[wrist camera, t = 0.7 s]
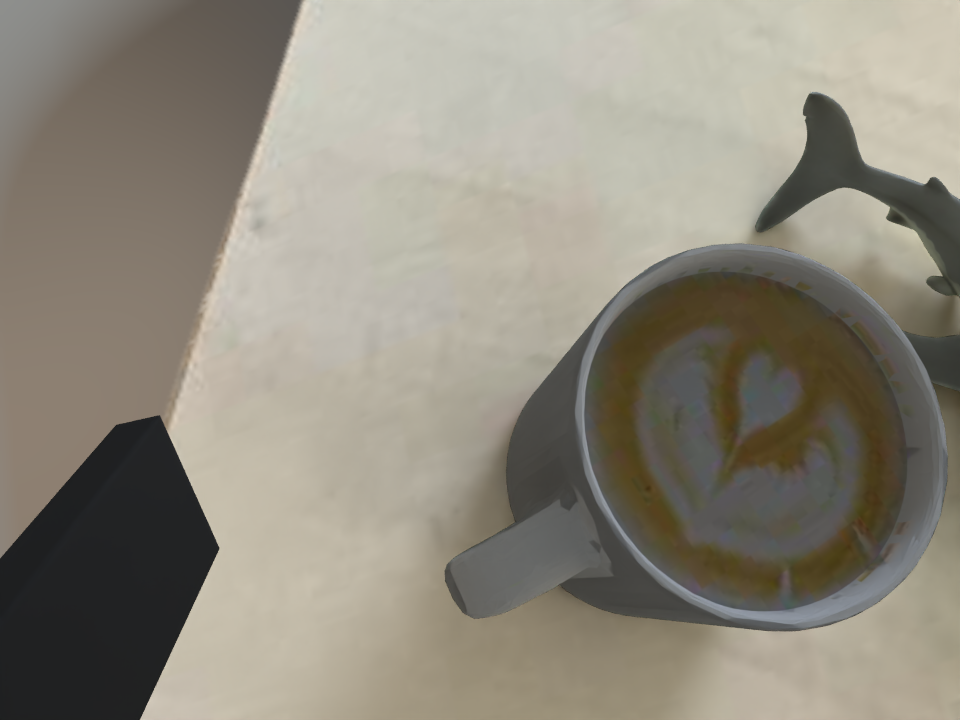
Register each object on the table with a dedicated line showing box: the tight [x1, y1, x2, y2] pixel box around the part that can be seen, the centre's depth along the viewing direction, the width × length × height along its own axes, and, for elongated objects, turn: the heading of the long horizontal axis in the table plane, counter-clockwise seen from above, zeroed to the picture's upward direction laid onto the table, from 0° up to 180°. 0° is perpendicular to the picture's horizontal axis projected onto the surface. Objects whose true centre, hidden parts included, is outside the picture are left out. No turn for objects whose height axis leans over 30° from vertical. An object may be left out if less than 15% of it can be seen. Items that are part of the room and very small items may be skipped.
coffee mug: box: [445, 243, 948, 631], centre depth 24 cm, size 13×10×10 cm
